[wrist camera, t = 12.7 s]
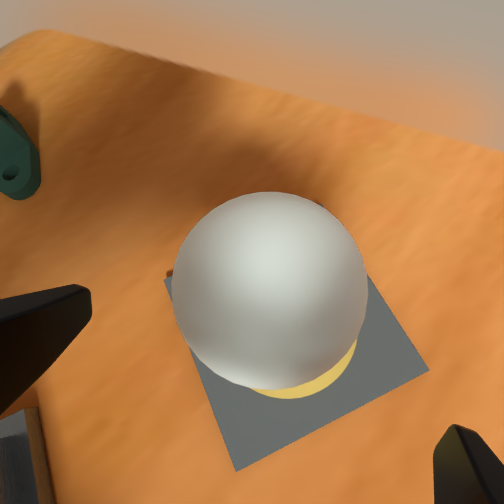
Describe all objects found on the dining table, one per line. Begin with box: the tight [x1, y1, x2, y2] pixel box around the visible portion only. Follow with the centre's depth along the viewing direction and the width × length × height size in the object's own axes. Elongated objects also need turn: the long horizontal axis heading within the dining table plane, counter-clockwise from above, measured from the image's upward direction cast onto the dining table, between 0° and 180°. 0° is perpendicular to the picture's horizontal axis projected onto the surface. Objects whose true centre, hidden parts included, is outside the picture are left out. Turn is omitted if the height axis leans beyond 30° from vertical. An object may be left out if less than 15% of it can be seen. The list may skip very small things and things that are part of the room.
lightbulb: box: [171, 192, 368, 390], centre depth 13 cm, size 6×6×11 cm
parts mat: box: [164, 204, 429, 472], centre depth 18 cm, size 11×11×1 cm
